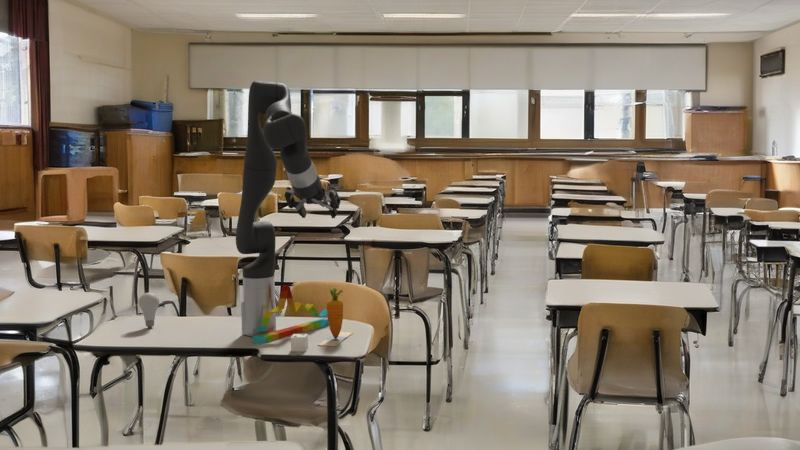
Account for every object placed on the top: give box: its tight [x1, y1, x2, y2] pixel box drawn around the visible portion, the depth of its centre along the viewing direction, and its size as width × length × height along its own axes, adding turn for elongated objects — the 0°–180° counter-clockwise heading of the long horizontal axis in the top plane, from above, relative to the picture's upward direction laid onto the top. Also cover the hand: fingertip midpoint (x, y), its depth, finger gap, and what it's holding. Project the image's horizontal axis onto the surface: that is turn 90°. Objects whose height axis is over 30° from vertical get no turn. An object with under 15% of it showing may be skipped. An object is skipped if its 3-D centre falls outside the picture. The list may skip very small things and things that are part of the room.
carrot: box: [326, 287, 344, 339], centre depth 267 cm, size 5×5×15 cm
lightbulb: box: [138, 292, 160, 329], centre depth 287 cm, size 6×6×11 cm
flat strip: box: [317, 331, 354, 347], centre depth 268 cm, size 5×16×1 cm, turn 165°
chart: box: [251, 284, 329, 345], centre depth 277 cm, size 30×3×15 cm, turn 143°
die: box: [290, 333, 309, 352], centre depth 257 cm, size 4×4×4 cm
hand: (319, 215), depth 255 cm, fingers open, 8 cm apart
